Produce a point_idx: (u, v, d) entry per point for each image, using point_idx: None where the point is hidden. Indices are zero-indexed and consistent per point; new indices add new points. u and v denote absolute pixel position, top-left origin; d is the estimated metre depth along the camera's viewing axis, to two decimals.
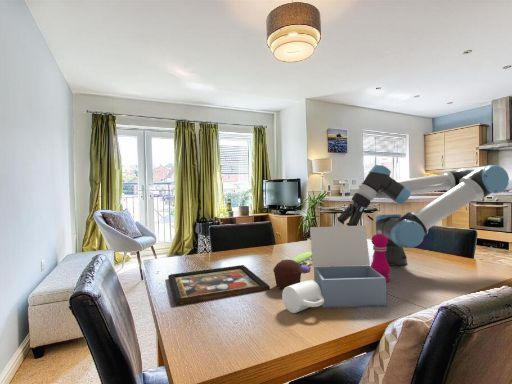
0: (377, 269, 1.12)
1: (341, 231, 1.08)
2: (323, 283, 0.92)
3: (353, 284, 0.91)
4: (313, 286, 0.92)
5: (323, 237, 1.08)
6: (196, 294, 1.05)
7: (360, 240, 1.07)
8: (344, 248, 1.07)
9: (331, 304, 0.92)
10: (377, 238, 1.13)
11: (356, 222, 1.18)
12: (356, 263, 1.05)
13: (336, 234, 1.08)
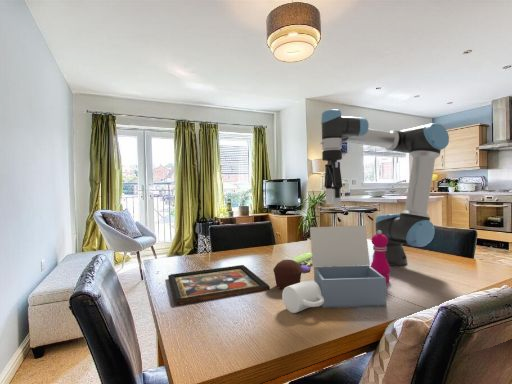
0: (377, 269, 1.12)
1: (341, 231, 1.08)
2: (323, 283, 0.92)
3: (353, 284, 0.91)
4: (313, 286, 0.92)
5: (323, 237, 1.08)
6: (196, 294, 1.05)
7: (360, 240, 1.07)
8: (344, 248, 1.07)
9: (331, 304, 0.92)
10: (377, 238, 1.13)
11: (339, 181, 1.06)
12: (356, 263, 1.05)
13: (336, 234, 1.08)
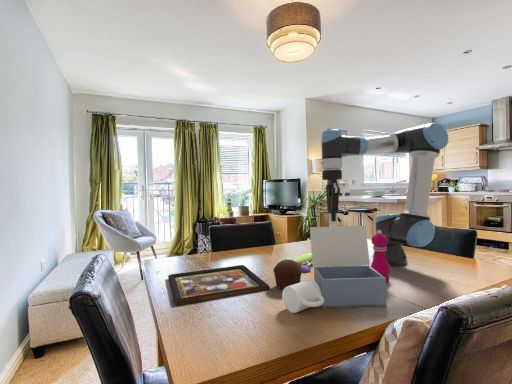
0: (377, 269, 1.12)
1: (341, 231, 1.08)
2: (323, 283, 0.92)
3: (353, 284, 0.91)
4: (313, 286, 0.92)
5: (323, 237, 1.08)
6: (196, 294, 1.05)
7: (360, 240, 1.07)
8: (344, 248, 1.07)
9: (331, 304, 0.92)
10: (377, 238, 1.13)
11: (336, 207, 1.11)
12: (356, 263, 1.05)
13: (336, 234, 1.08)
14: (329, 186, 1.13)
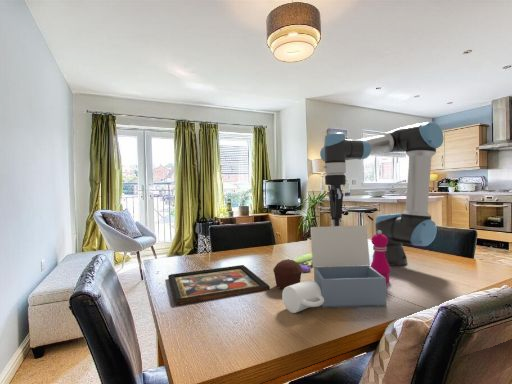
0: (377, 269, 1.12)
1: (342, 231, 1.07)
2: (323, 283, 0.92)
3: (353, 284, 0.91)
4: (313, 286, 0.92)
5: (324, 237, 1.07)
6: (196, 294, 1.05)
7: (361, 240, 1.07)
8: (344, 248, 1.06)
9: (331, 304, 0.92)
10: (377, 238, 1.13)
11: (339, 213, 1.06)
12: (356, 263, 1.05)
13: (337, 234, 1.07)
14: (332, 192, 1.08)
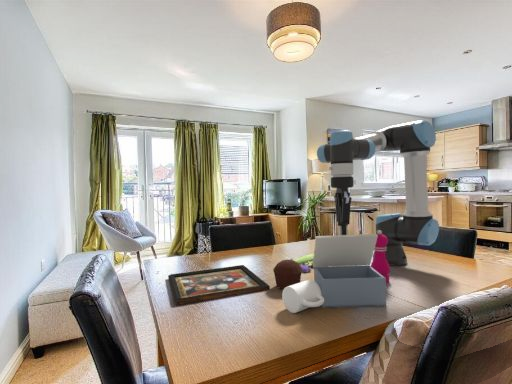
0: (377, 269, 1.12)
1: (349, 240, 0.98)
2: (323, 283, 0.92)
3: (353, 284, 0.91)
4: (313, 286, 0.92)
5: (329, 245, 1.00)
6: (196, 294, 1.05)
7: (367, 247, 1.00)
8: (348, 253, 1.02)
9: (331, 304, 0.92)
10: (377, 238, 1.13)
11: (347, 219, 0.97)
12: (357, 264, 1.05)
13: (343, 243, 0.99)
14: (339, 195, 0.99)
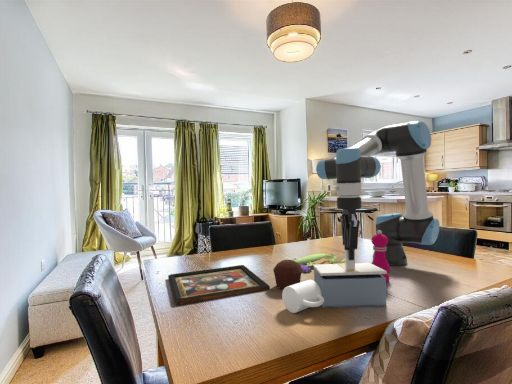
0: None
1: None
2: (323, 283, 0.92)
3: (353, 284, 0.91)
4: (313, 286, 0.92)
5: None
6: (196, 294, 1.05)
7: None
8: None
9: (331, 304, 0.92)
10: (377, 238, 1.13)
11: (355, 243, 0.90)
12: None
13: None
14: (346, 217, 0.92)
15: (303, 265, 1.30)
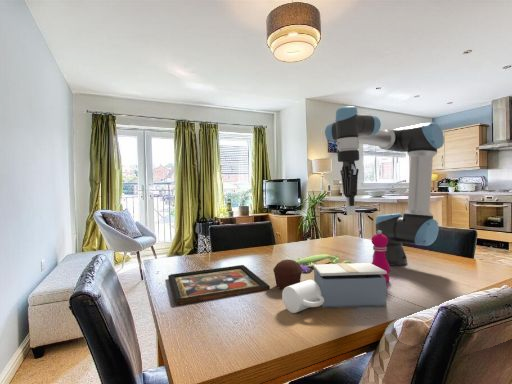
0: None
1: None
2: (323, 283, 0.92)
3: (353, 284, 0.91)
4: (313, 286, 0.92)
5: None
6: (196, 294, 1.05)
7: None
8: None
9: (331, 304, 0.92)
10: (377, 238, 1.13)
11: (355, 190, 1.02)
12: None
13: None
14: (346, 168, 1.04)
15: (303, 265, 1.30)
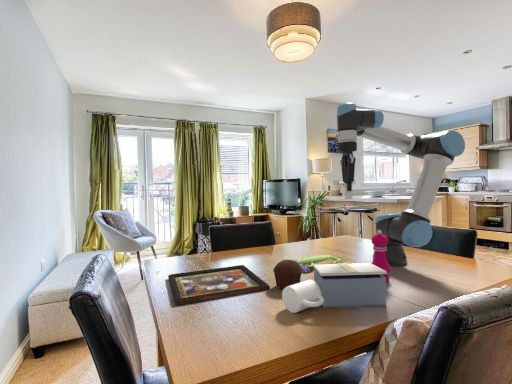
0: None
1: None
2: (323, 283, 0.92)
3: (353, 284, 0.91)
4: (313, 286, 0.92)
5: None
6: (196, 294, 1.05)
7: None
8: None
9: (331, 304, 0.92)
10: (377, 238, 1.13)
11: (352, 176, 1.16)
12: None
13: None
14: (345, 157, 1.18)
15: (303, 265, 1.30)
